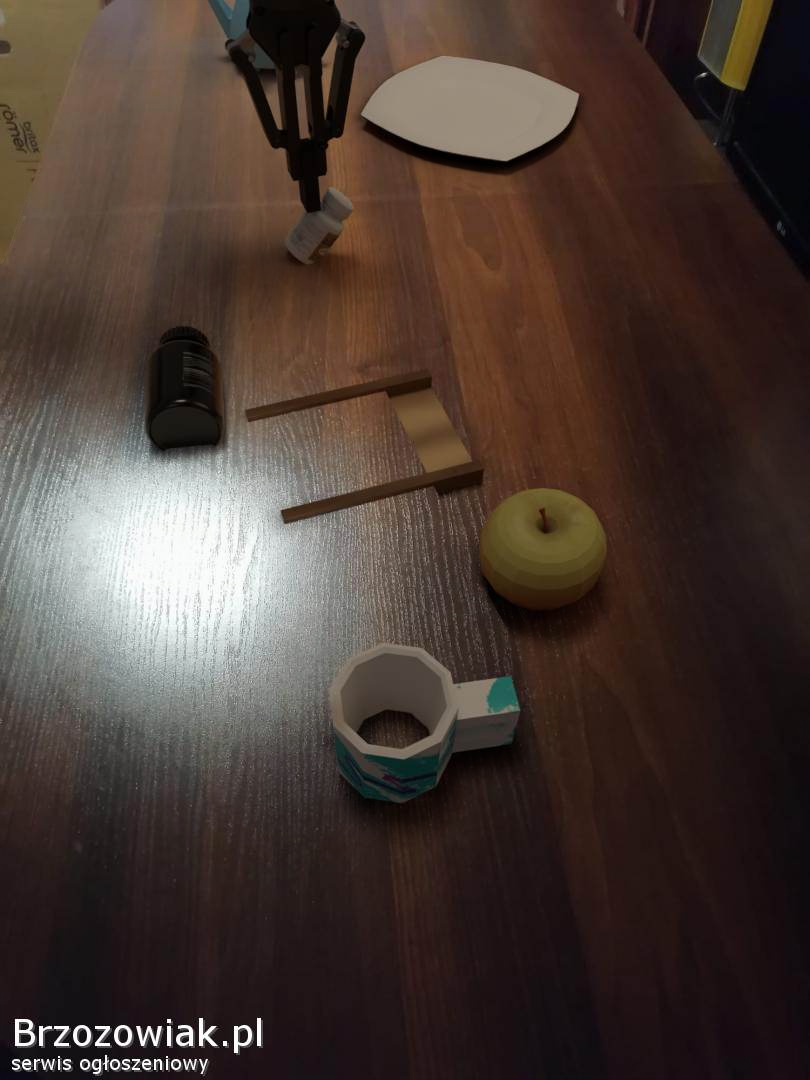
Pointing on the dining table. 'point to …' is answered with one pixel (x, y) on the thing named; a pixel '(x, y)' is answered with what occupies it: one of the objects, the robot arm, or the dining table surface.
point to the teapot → (239, 27)
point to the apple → (542, 549)
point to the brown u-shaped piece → (422, 426)
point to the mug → (428, 694)
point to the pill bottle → (319, 227)
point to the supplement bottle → (184, 392)
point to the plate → (472, 108)
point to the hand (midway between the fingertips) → (310, 205)
